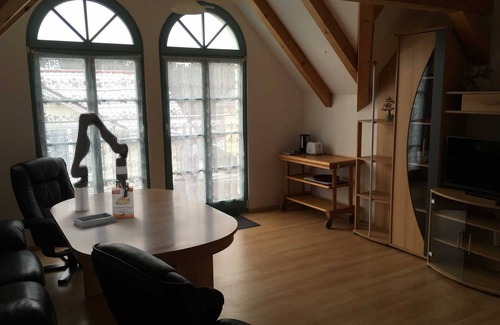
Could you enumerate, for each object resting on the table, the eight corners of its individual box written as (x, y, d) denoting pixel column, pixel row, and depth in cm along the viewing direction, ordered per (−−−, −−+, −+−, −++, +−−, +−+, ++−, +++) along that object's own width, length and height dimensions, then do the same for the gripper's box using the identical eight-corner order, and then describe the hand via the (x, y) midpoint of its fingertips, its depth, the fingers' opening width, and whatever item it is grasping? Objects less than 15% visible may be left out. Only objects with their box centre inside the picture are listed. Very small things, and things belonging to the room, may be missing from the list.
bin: (73, 224, 267) (73, 218, 267) (106, 217, 282) (106, 212, 282) (82, 228, 257) (82, 222, 257) (115, 221, 272) (115, 215, 272)
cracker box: (112, 219, 279) (111, 188, 276) (113, 216, 285) (111, 186, 282) (134, 217, 282) (133, 187, 280) (134, 215, 288) (133, 185, 285)
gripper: (111, 172, 282) (112, 195, 284) (121, 174, 272) (122, 198, 274) (121, 170, 287) (122, 193, 289) (132, 173, 277) (133, 197, 279)
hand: (122, 196), depth 281 cm, fingers closed on cracker box, 8 cm apart
